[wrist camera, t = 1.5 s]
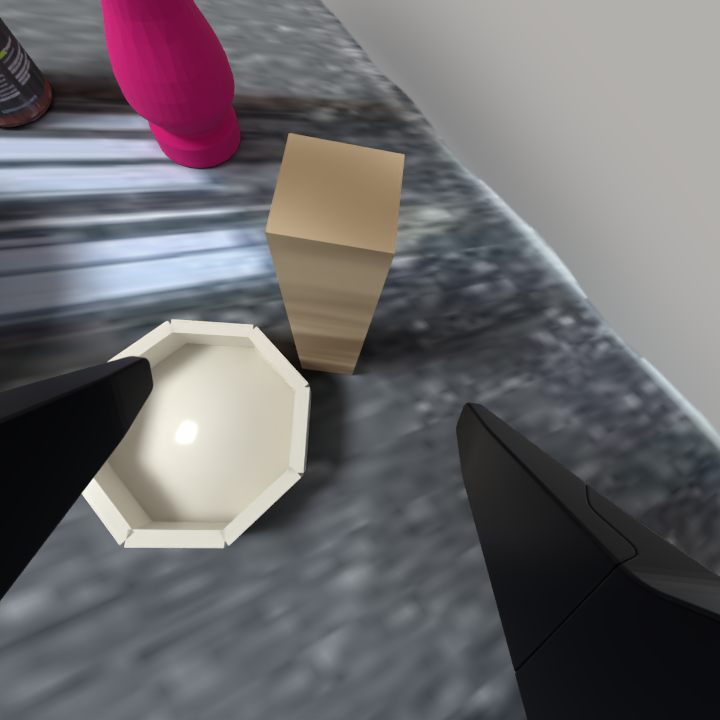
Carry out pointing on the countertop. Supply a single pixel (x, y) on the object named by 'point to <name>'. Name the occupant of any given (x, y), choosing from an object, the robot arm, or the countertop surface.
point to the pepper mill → (174, 77)
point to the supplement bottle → (20, 83)
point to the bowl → (204, 439)
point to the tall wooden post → (333, 244)
